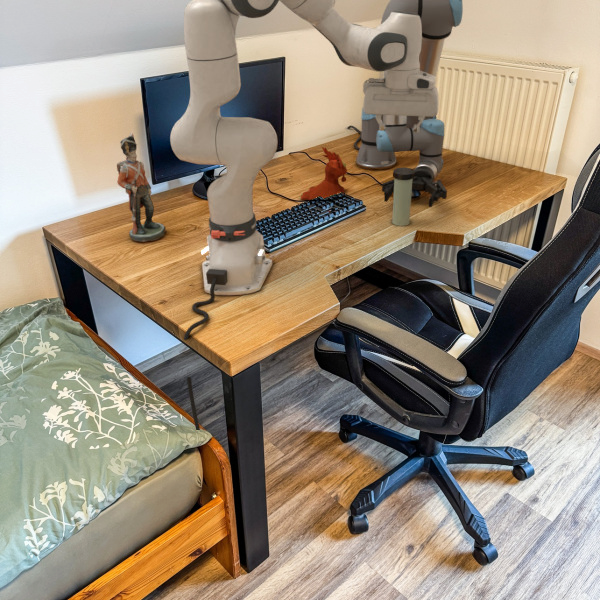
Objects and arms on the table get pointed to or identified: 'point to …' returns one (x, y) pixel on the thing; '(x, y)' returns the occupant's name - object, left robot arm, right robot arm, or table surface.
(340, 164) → the toy
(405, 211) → the jar
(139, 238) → the figurine
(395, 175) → the lid
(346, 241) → the table surface
